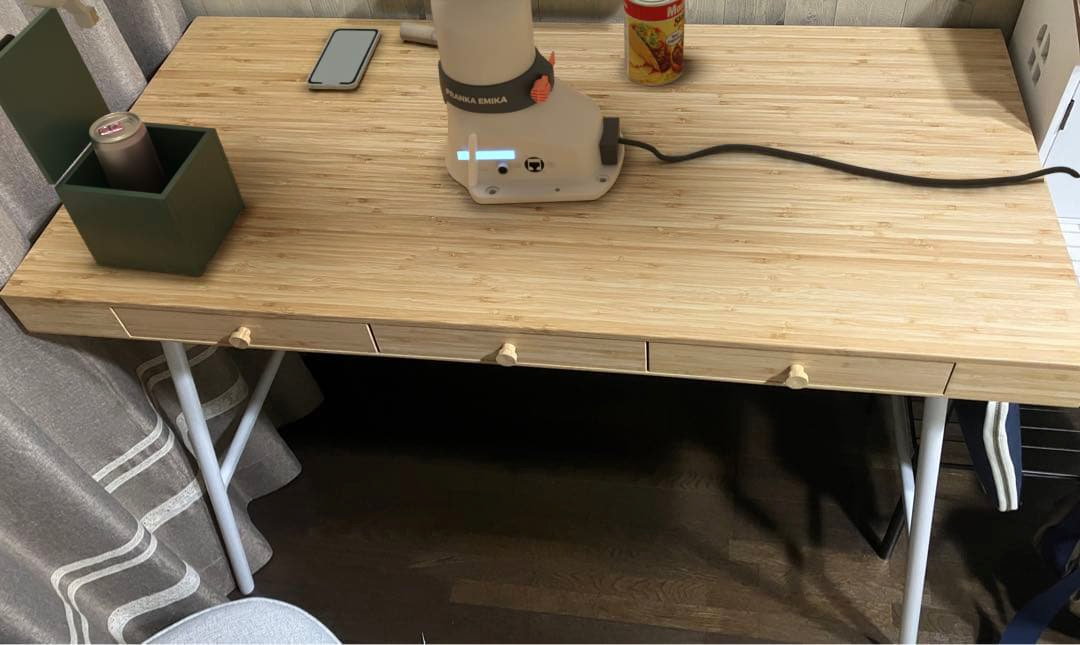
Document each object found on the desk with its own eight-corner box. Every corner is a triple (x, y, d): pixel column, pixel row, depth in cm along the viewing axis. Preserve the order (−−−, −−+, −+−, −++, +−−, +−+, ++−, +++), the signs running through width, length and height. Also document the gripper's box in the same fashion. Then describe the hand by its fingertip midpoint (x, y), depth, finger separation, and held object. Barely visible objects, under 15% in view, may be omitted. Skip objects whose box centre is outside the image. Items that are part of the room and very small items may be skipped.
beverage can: (129, 224, 122) (82, 120, 112) (178, 207, 124) (136, 104, 113) (140, 252, 119) (92, 148, 108) (190, 235, 120) (147, 131, 109)
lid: (54, 4, 108) (17, 4, 109) (-15, 71, 100) (-54, 70, 101) (112, 116, 118) (77, 114, 120) (54, 185, 110) (18, 182, 111)
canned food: (685, 83, 134) (688, 2, 126) (626, 88, 135) (625, 6, 126) (680, 51, 140) (682, -30, 131) (623, 55, 140) (621, -25, 131)
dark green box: (245, 205, 125) (215, 127, 116) (200, 277, 116) (164, 199, 108) (148, 195, 127) (111, 119, 119) (96, 264, 119) (53, 188, 111)
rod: (400, 43, 147) (397, 26, 145) (409, 33, 148) (406, 16, 146) (473, 56, 143) (470, 39, 141) (481, 46, 145) (479, 29, 143)
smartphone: (381, 28, 148) (355, 85, 138) (383, 34, 149) (356, 91, 139) (333, 27, 150) (303, 84, 139) (335, 33, 150) (305, 90, 140)
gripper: (25, -76, 91) (88, 56, 102) (133, -170, 105) (180, -45, 115) (-34, -77, 93) (34, 53, 103) (80, -170, 106) (131, -46, 116)
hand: (112, 1), depth 109 cm, fingers open, 8 cm apart
